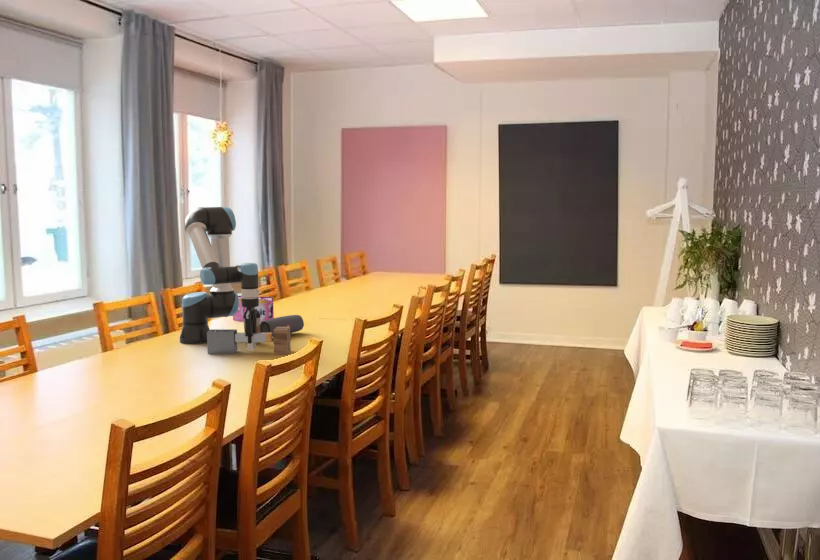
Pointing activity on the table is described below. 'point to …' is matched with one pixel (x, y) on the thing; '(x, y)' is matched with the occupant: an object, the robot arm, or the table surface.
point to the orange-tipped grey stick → (256, 337)
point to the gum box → (263, 308)
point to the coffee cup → (256, 322)
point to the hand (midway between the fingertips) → (251, 349)
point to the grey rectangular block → (221, 342)
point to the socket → (282, 340)
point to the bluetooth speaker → (282, 324)
